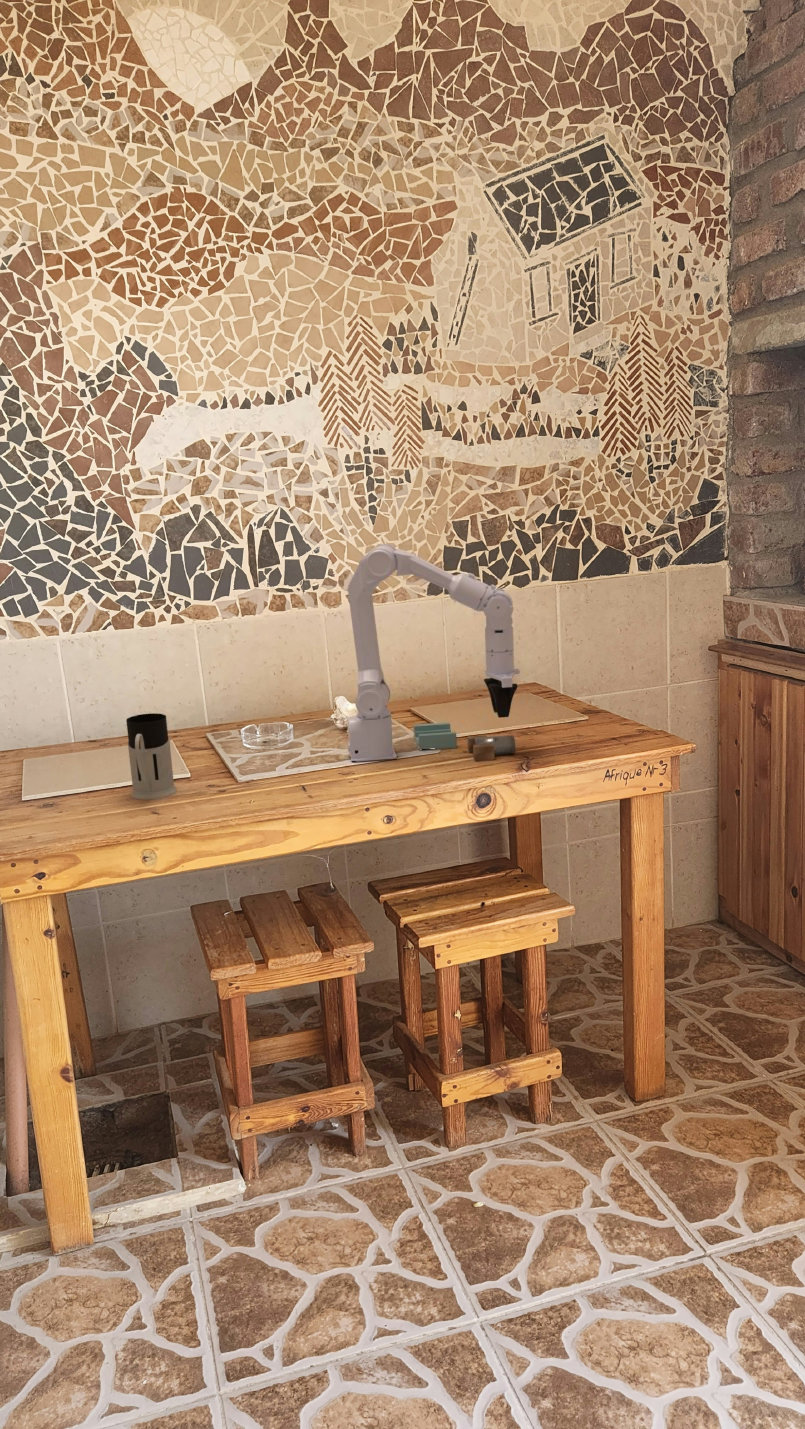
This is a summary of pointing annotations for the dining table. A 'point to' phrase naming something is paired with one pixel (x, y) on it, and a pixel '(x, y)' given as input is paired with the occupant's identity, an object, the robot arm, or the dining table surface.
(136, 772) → the glass holder
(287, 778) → the dining table surface
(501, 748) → the axle
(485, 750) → the block
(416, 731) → the v block
